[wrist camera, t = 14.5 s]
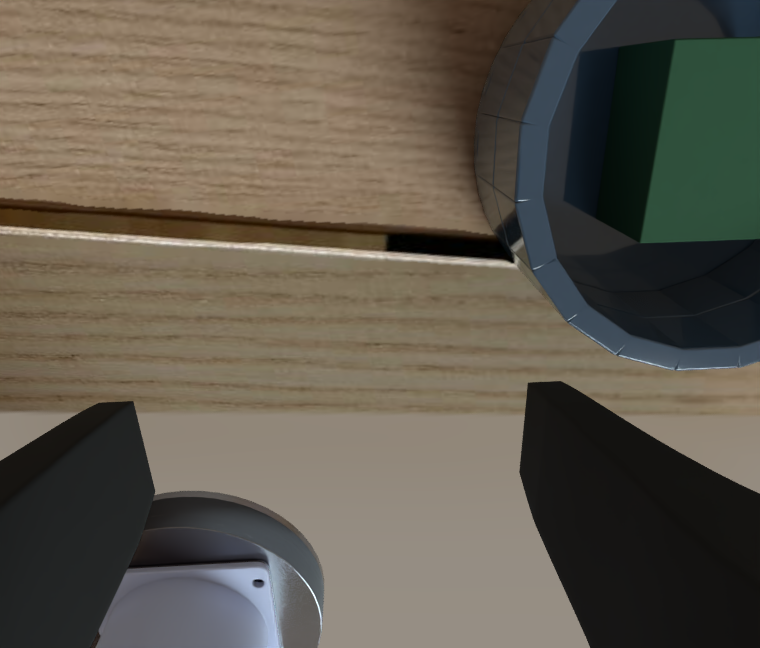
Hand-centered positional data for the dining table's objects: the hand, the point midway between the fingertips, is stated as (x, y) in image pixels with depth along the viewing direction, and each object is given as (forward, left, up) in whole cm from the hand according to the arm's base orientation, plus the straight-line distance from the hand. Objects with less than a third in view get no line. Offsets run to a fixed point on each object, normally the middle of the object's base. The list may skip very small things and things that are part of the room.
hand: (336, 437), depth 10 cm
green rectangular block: (+4, -10, -9) cm, 14 cm away
